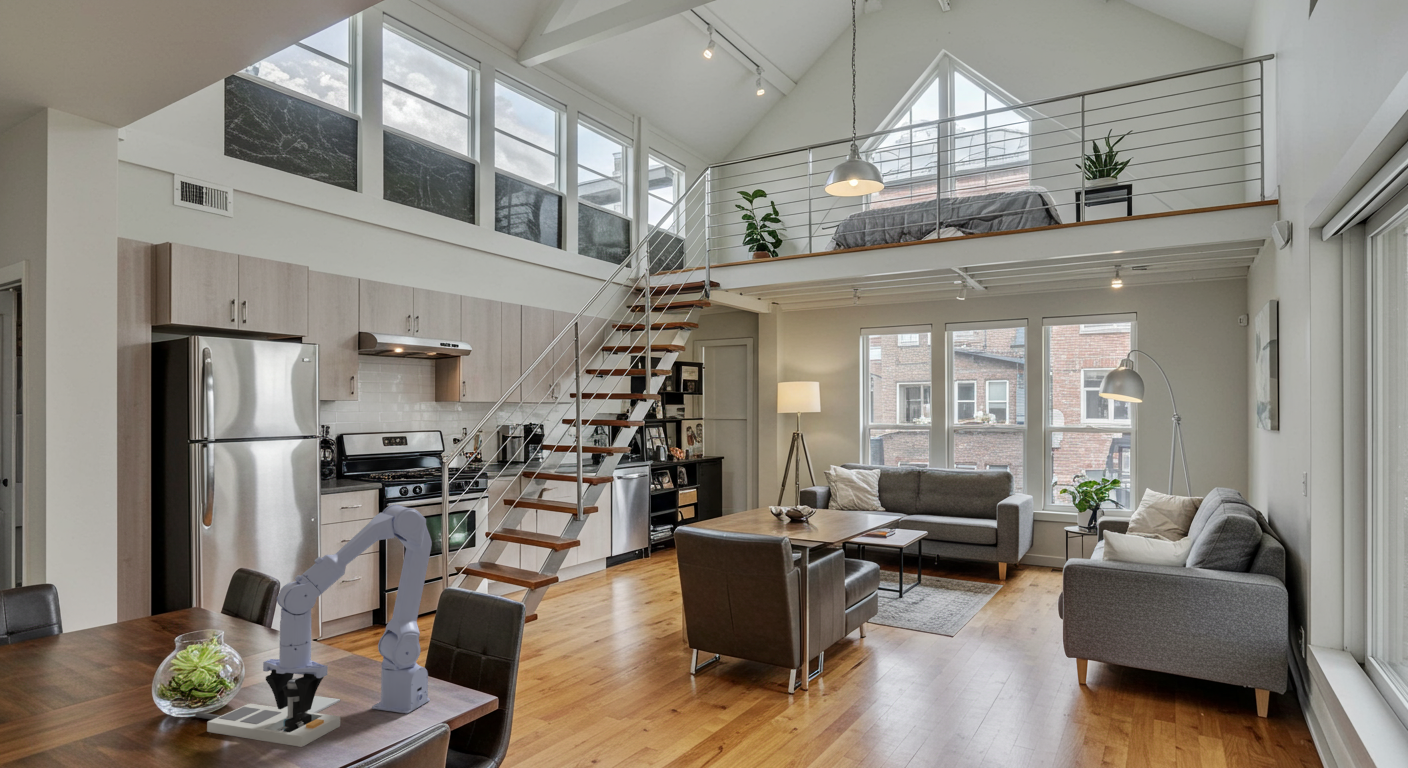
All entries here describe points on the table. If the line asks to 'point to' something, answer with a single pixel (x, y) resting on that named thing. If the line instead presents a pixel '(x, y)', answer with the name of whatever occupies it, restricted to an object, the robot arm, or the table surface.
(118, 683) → the table surface
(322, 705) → the mat
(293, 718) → the push button
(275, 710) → the white compartment tray
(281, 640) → the robot arm
